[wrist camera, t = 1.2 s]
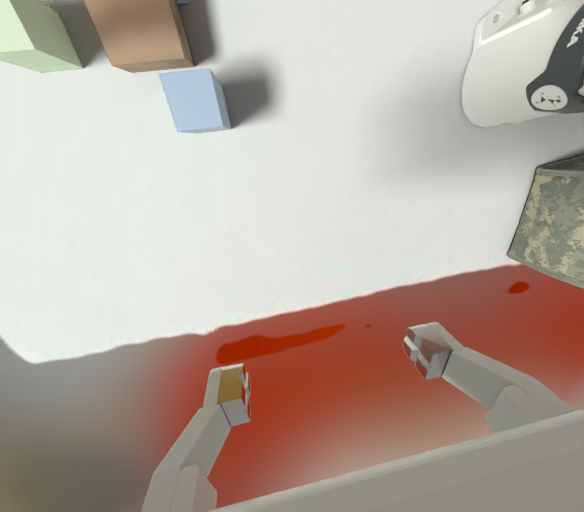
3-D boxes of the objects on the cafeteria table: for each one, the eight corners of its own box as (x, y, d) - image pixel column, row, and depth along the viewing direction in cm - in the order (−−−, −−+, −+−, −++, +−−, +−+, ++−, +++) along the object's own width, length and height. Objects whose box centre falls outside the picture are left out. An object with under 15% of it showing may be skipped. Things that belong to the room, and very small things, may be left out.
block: (11, 16, 24) (-69, -24, 18) (58, 12, 25) (-6, -28, 19) (41, 72, 27) (-21, 53, 21) (83, 68, 27) (35, 49, 21)
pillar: (186, 92, 30) (158, 73, 21) (222, 88, 30) (209, 68, 22) (198, 133, 32) (177, 131, 24) (231, 129, 33) (223, 126, 24)
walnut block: (94, -22, 24) (61, -52, 19) (169, -27, 24) (152, -57, 20) (132, 72, 28) (111, 65, 24) (194, 66, 29) (184, 58, 25)
